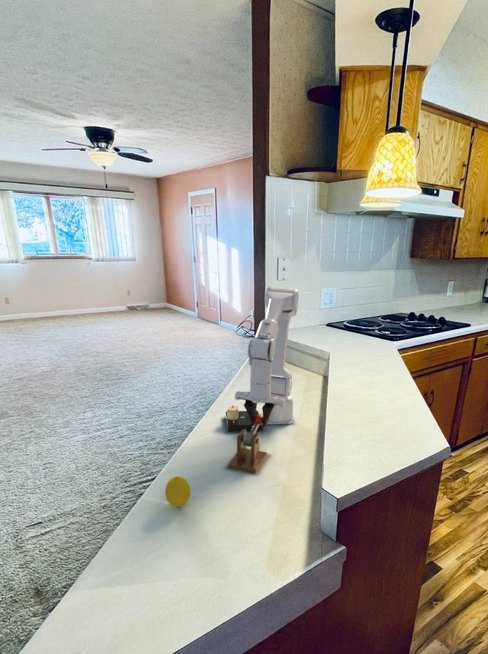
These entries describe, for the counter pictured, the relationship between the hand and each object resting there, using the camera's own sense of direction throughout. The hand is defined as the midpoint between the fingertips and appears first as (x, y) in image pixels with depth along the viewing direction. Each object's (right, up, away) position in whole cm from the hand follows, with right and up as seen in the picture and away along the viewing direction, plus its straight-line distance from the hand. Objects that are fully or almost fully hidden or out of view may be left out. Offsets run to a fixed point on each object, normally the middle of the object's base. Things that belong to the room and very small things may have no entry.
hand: (259, 425), depth 119 cm
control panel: (-6, -1, +17) cm, 18 cm away
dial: (-10, +1, +15) cm, 18 cm away
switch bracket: (-3, -10, -5) cm, 11 cm away
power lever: (-1, -2, -3) cm, 4 cm away
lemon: (-17, -17, -25) cm, 35 cm away
